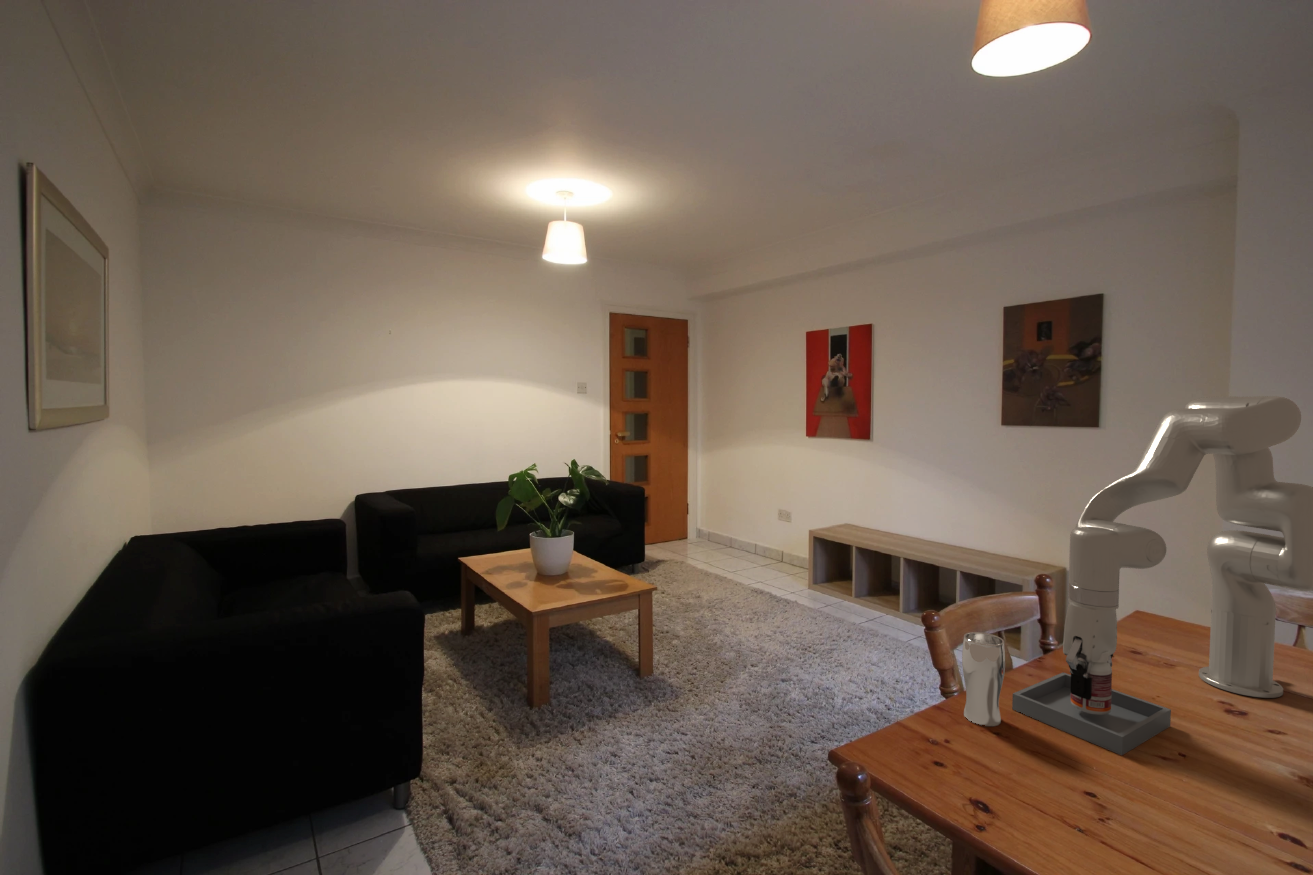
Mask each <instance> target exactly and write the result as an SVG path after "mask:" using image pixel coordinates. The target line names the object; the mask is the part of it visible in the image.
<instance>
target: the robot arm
mask: <svg viewBox="0 0 1313 875" xmlns="http://www.w3.org/2000/svg"><path fill="white" fill-rule="evenodd" d="M1301 413H1302V412H1301V410H1300V408H1299V406H1298V404H1296V402H1294V401H1293V400H1291V399H1290V398H1288V397H1284V396H1277V395H1275V396H1273V395H1272V396H1271V395H1269V396H1268V395H1266V396H1265V395H1264V396H1263V395H1261V396H1260V395H1259V396H1258V395H1257V396H1232V395H1231V396H1209V397H1201V398H1196V399H1193V400H1190V401H1189V402H1188V403H1186V404H1185V406H1184V408H1177V409H1174V410H1170V411H1168V412H1167V413H1165V414H1164V415H1163V416H1162V417H1161V419H1160V420H1159V421H1158V423H1157V426H1156V428H1155V430H1154V431H1153V433H1152V435H1151V437H1150V438H1149V440H1148V442H1147V445H1146V446H1145V448H1144V450H1143V452H1142V453H1141V455H1140V457H1139V458H1138V461H1137V462H1136V464H1135V466H1134V468H1133V469H1132V471H1130V472H1129V473H1127V474H1126V475H1123V476H1122V477H1120V478H1118V479H1116V480H1114V481H1113V482H1111V483H1110V484H1108V485H1106V486H1105V487H1104V488H1103V489H1101V490H1100V491H1099V492H1097V493H1096V494H1095V495H1093V496H1092V497H1091V499H1090V500H1089V501H1088V502H1087V504H1086V505H1085V508H1084V509H1083V510H1082V513H1081V514H1080V516H1079V518H1078V520H1077V522H1076V524H1075V528H1074V529H1072V531H1071V532H1070V536H1069V556H1068V557H1069V558H1068V559H1069V560H1068V561H1069V562H1068V564H1069V565H1068V566H1069V567H1068V593H1067V596H1068V599H1067V600H1068V602H1069V603H1068V605H1067V610H1066V614H1065V615H1066V616H1065V622H1064V630H1063V643H1062V653H1063V654H1064V655H1065V656H1066V658H1065V661H1066V663H1067V666H1068V668H1069V673H1070V675H1071V693H1072V694H1073V695H1076V696H1079V697H1081V698H1084V699H1087V700H1089V699H1091V691H1092V678H1090V677H1089V675H1090V671H1091V667H1092V662H1095V661H1098V660H1100V657H1101V654H1102V653H1104V652H1106V651H1109V660H1108V661H1107V663H1109V664H1110V666H1111V668H1113V661H1112V658H1113V657H1114V654H1115V652H1116V651H1117V643H1118V642H1117V640H1118V621H1117V620H1118V618H1117V616H1118V615H1117V609H1119V606H1120V603H1119V602H1120V573H1121V571H1120V570H1121V569H1136V570H1139V569H1140V570H1144V569H1150V568H1153V567H1156V566H1157V565H1159V564H1160V563H1162V561H1163V560H1164V558H1165V557H1166V555H1167V544H1166V541H1165V540H1164V538H1163V537H1162V535H1160V534H1159V533H1158V532H1156V531H1154V530H1152V529H1149V528H1146V527H1141V526H1136V525H1130V524H1126V523H1121V522H1120V523H1119V522H1115V520H1116V519H1117V518H1118V517H1119V516H1121V514H1122V513H1124V512H1126V511H1128V510H1129V509H1131V508H1134V507H1136V506H1140V505H1142V504H1146V503H1150V502H1156V501H1160V500H1164V499H1168V498H1172V497H1176V496H1179V495H1181V494H1183V493H1184V492H1186V491H1187V489H1188V487H1189V486H1190V484H1191V481H1192V480H1193V478H1194V475H1195V474H1196V472H1197V470H1198V468H1199V466H1200V464H1201V462H1202V461H1203V459H1204V457H1205V456H1206V455H1209V454H1211V455H1212V456H1213V458H1214V469H1215V470H1214V472H1215V501H1216V502H1215V503H1216V504H1215V505H1216V511H1217V514H1218V516H1219V518H1220V519H1221V520H1223V521H1225V522H1227V523H1229V524H1232V525H1237V526H1243V527H1249V528H1254V529H1261V530H1267V531H1268V530H1269V531H1274V532H1280V533H1282V535H1283V537H1281V536H1276V535H1270V534H1265V533H1258V532H1254V531H1253V532H1252V531H1245V530H1238V529H1237V530H1233V529H1232V530H1224V531H1219V532H1217V533H1215V534H1214V535H1213V536H1212V537H1211V538H1210V539H1209V541H1208V544H1207V546H1206V555H1207V562H1208V565H1209V570H1210V576H1211V608H1210V610H1211V611H1210V612H1211V614H1210V631H1209V632H1210V634H1209V655H1208V659H1209V660H1208V665H1207V666H1203V667H1201V668H1199V670H1198V677H1199V678H1200V679H1201V680H1202V681H1204V682H1205V683H1207V684H1209V685H1211V686H1213V687H1215V688H1218V689H1220V690H1224V691H1227V692H1230V693H1234V694H1237V695H1242V696H1246V697H1247V696H1248V697H1253V698H1261V699H1262V698H1263V699H1275V698H1279V697H1282V696H1283V695H1284V688H1283V686H1282V685H1281V684H1280V683H1278V682H1277V681H1275V680H1274V657H1275V638H1276V637H1275V636H1276V633H1275V632H1276V617H1277V616H1276V615H1277V606H1276V601H1275V598H1274V596H1273V594H1272V593H1271V591H1270V589H1269V588H1268V587H1267V585H1272V586H1275V587H1279V588H1285V589H1290V590H1295V591H1299V592H1313V486H1311V485H1308V484H1303V483H1295V482H1285V481H1284V482H1283V481H1277V480H1276V478H1275V474H1274V473H1275V472H1274V458H1273V454H1272V451H1271V450H1270V447H1273V446H1276V445H1279V444H1282V443H1283V442H1286V441H1288V440H1289V439H1291V438H1292V437H1294V435H1295V434H1296V433H1297V432H1298V430H1299V428H1300V425H1301V422H1302V414H1301ZM1266 584H1267V585H1266ZM1080 654H1081V655H1084V656H1087V658H1086V659H1083V658H1080V657H1079V656H1080ZM1078 661H1081V662H1084V663H1086V664H1085V668H1083V666H1082V665H1081V664H1079V662H1078Z"/></svg>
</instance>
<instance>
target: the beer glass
mask: <svg viewBox="0 0 1313 875" xmlns="http://www.w3.org/2000/svg"><path fill="white" fill-rule="evenodd" d="M1005 651H1006V650H1005V640H1004V639H1002V637H999V636H997V635H995V634H992V633H987V632H980V631H971V632H965V633H964V634H963V643H962V654H961V655H962V656H961V662H962V663H961V665H962V673H963V674H962V675H963V681H964V685H965V693H966V698H965V700H966V701H965V705H964V709H963V717H964V718H965V717H966V718H967V719H968V720H967V719H966V718H965V719H966V720H967V721H969V722H971V721H972V722H971V723H973V724H975V723H976V724H975V725H978V724H979V725H978V726H982V725H985V726H984V727H996V726H999V725H1000V724H1001V723H1002V722H1001V721H1002V719H1001V712H1000V695H1001V692H1002V687H1003V683H1004V682H1003V681H1004V678H1005V668H1006V652H1005Z"/></svg>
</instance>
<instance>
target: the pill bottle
mask: <svg viewBox="0 0 1313 875" xmlns="http://www.w3.org/2000/svg"><path fill="white" fill-rule="evenodd" d="M1079 657H1080V658H1083V659H1086V658H1087V656H1084V655H1081V654H1080V656H1079ZM1108 660H1109V651H1106V652H1104V653H1102V654H1101V657H1100V660H1098V661H1095V662H1092V667H1091V671H1090V675H1089V677H1090V678H1092V691H1091V699H1089V700H1087V699H1084V698H1081V697H1079V696H1076V695H1073V694H1072V693H1071V703H1072V705H1073V706H1074V707H1075V708H1077V709H1079V710H1081V711H1083V712H1086V713H1090V714H1096V715H1104V714H1108V713H1110V711H1111V690H1112V689H1113V688H1112V687H1113V686H1112V684H1113V683H1112V679H1113V676H1112V675H1113V669H1112V668H1113V667H1111V666H1110V664H1109V663H1107V661H1108ZM1078 662H1079V664H1081V665H1082V666H1083V668H1085V664H1086V663H1084V662H1081V661H1078Z"/></svg>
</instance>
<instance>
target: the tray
mask: <svg viewBox="0 0 1313 875" xmlns="http://www.w3.org/2000/svg"><path fill="white" fill-rule="evenodd" d="M1011 704H1012V707H1011V708H1012V709H1013V711H1015V710H1016V711H1015V712H1017V713H1019V712H1021V713H1020V714H1022V713H1023V714H1022V715H1024V714H1025V716H1027V717H1029V716H1030V717H1029V718H1031V717H1032V718H1031V719H1034V720H1036V721H1038V720H1039V722H1041V723H1044V724H1045V725H1049V726H1050V727H1054V728H1056V729H1058V730H1060V731H1062V732H1065V733H1067V734H1069V735H1072V736H1074V737H1076V738H1080V739H1081V740H1084V741H1085V742H1089V743H1091V744H1093V745H1095V746H1099V747H1101V748H1103V749H1105V750H1109V751H1110V752H1112V753H1115V754H1117V755H1120V756H1124V755H1126V754H1127V753H1129V752H1130V751H1131V750H1133V749H1135V748H1137V747H1138V746H1140V745H1141V744H1143V743H1145V742H1147V741H1149V740H1150V739H1152V738H1154V737H1155V736H1156V735H1158V734H1160V733H1161V732H1163V731H1165V730H1167V729H1168V728H1170V727H1171V723H1172V722H1171V718H1172V717H1171V715H1172V709H1171V708H1168V707H1166V706H1162V705H1160V704H1156V703H1153V702H1151V701H1148V700H1145V699H1142V698H1139V697H1135V696H1133V695H1130V694H1127V693H1125V692H1122V691H1118V690H1116V689H1113V688H1112V690H1111V711H1110V713H1108V714H1104V715H1096V714H1090V713H1086V712H1083V711H1081V710H1079V709H1077V708H1075V707H1074V706H1073V705H1072V703H1071V674H1069V673H1066V672H1063V671H1062V672H1061V673H1058V674H1055V675H1053V676H1051V677H1048V678H1047V679H1044V680H1041V681H1039V682H1037V683H1034V684H1032V685H1030V686H1027V687H1025V688H1023V689H1020V690H1018V691H1017V690H1016V691H1015V692H1013V693H1012V703H1011Z"/></svg>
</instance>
